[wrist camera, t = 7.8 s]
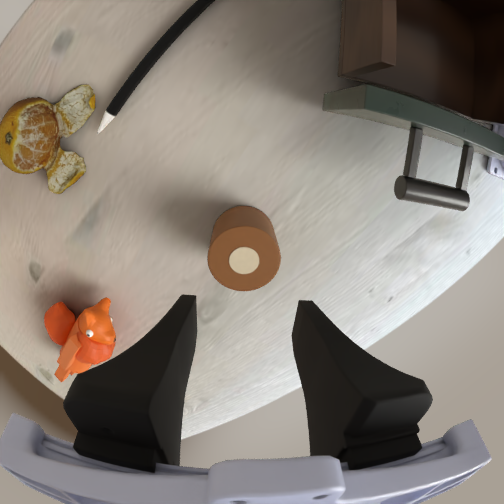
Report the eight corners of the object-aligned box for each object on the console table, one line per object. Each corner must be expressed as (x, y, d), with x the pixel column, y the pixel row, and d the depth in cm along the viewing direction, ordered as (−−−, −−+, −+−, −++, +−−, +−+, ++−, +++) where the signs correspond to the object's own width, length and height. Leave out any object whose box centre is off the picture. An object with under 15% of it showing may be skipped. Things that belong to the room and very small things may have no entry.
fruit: (82, 195, 19) (57, 210, 16) (9, 177, 18) (-18, 189, 15) (102, 86, 16) (76, 82, 13) (22, 81, 15) (-6, 81, 11)
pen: (283, -51, 12) (285, -58, 11) (104, 136, 17) (97, 138, 16) (273, -57, 11) (275, -64, 10) (96, 130, 17) (88, 131, 16)
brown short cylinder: (276, 207, 21) (285, 228, 17) (270, 263, 22) (276, 293, 19) (213, 203, 20) (207, 224, 17) (212, 260, 22) (207, 289, 18)
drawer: (461, 200, 20) (515, 231, 14) (314, 174, 19) (350, 204, 13) (475, 20, 12) (529, 12, 6) (331, -41, 11) (364, -87, 5)
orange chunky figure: (69, 404, 22) (110, 350, 18) (22, 348, 22) (48, 275, 18) (95, 379, 27) (144, 322, 23) (52, 329, 27) (88, 259, 23)
